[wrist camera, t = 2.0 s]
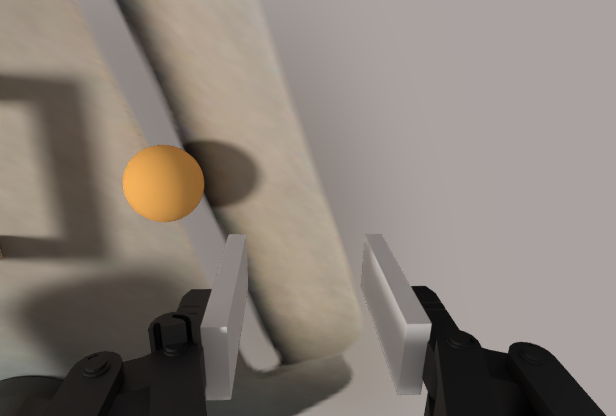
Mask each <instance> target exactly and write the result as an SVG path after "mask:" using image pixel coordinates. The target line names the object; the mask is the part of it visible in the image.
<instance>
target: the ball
mask: <svg viewBox="0 0 616 416" xmlns="http://www.w3.org/2000/svg"><path fill="white" fill-rule="evenodd" d="M123 190H124V194H125V197H126V199H127V201H128V202H129V204H130V205H131V207H132V208H133V209H134V210H135V211H136V212H137V213H139V214H140V215H142V216H143V217H145V218H148V219H150V220H154V221H158V222H170V221H175V220H178V219H181V218H183V217H185V216H187V215H188V214H190V213H191V212H192V211H193V210H194V209H195V208H196V207H197V205H198V204H199V202H200V200H201V198H202V195H203V192H204V177H203V173H202V170H201V168H200V166H199V165H198V163H197V162H196V160H195V159H194V158H193V157H192V156H191V155H189V154H188V153H187V152H185V151H184V150H182V149H180V148H177V147H174V146H169V145H157V146H152V147H149V148H146V149H144V150H142V151H140V152H139V153H137V154H136V155H135V156H134V157H133V158H132V159H131V160H130V162H129V163H128V165H127V167H126V169H125V172H124V175H123Z"/></svg>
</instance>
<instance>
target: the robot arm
mask: <svg viewBox="0 0 616 416" xmlns="http://www.w3.org/2000/svg"><path fill="white" fill-rule="evenodd" d="M361 289H362V292H363V295H364V298H365V301H366V304H367V307H368V310H369V313H370V316H371V318H372V321H373V324H374V327H375V330H376V333H377V336H378V339H379V342H380V345H381V348H382V351H383V353H384V356H385V359H386V362H387V365H388V368H389V371H390V374H391V377H392V380H393V383H394V386H395V388H396V391H397V394H398V395H414V394H421V389H422V383H423V381H424V384H425V386H426V388H427V390H428V394H427V401H426V407H425V413H424V416H606V415H605V414H604V413H603V411H602V410H601V409H600V408H599V407H598V406H597V404H596V403H595V402H594V401H593V400H592V399H591V398H590V396H589V395H588V394H587V393H586V392H585V391H584V390H583V388H582V387H581V386H580V385H579V384H578V383H577V381H576V380H575V379H574V378H573V377H572V376H571V375H570V373H569V372H568V371H567V370H566V369H565V368H564V367H563V365H562V364H561V363H560V362H559V361H558V360H557V359H556V357H555V356H554V355H552V354H551V353H550V352H549V351H548V350H546V349H544V348H542V347H540V346H538V345H535V344H532V343H527V342H517V343H513V344H512V345H510V347H509V351H508V353H503V352H498V351H493V350H488V349H485V348H482V347H481V345H480V343H479V341H478V340H477V339H476V338H474V337H473V336H472V335H470V334H468V333H466V332H464V331H461V330H459V328H458V327H457V326H456V324H455V322H454V321H453V319H452V318H451V316H450V315H449V313H448V312H447V310H445V307H444V305H443V304H442V303H441V301H440V299H439V298H438V296H437V295H436V293H434V292H433V291H432V290H430V289H429V288H428V287H426V286H410V284H409V282H408V281H407V279H406V277H405V275H404V273H403V272H402V270H401V268H400V266H399V265H398V263H397V261H396V259H395V258H394V256H393V254H392V252H391V250H390V249H389V247H388V245H387V243H386V241H385V240H384V238H383V236H382V234H365V238H364V251H363V263H362V277H361ZM247 291H248V276H247V245H246V234H229V236H228V239H227V242H226V245H225V249H224V252H223V255H222V259H221V262H220V265H219V268H218V272H217V275H216V278H215V282H214V285H213V288H212V289H191V290H190V291H189V292H188V293H187V294H186V295H184V296H183V297H182V300H181V302H180V304H179V308H178V309H177V312H171V313H167V314H164V315H161V316H160V317H158V318H156V319H155V320H154V321H153V322H152V323H150V326H149V328H148V332H149V339H150V346H151V354H149V355H147V356H144V357H141V358H138V359H134V360H130V361H126V362H123V361H122V359H121V357H120V355H118V354H116V353H115V352H107V351H105V352H98V353H94V354H92V355H89V356H86V357H85V358H83V359H82V360H80V361H78V362H77V363H76V364H75V365H74V367H73V368H72V369H71V370H70V372H69V373H68V375H67V377H66V378H65V380H64V381H59V380H55V379H50V378H42V377H18V378H11V379H7V380H3V381H0V416H207V412H206V404H205V396H204V393H205V390H206V400H231V396H232V389H233V382H234V376H235V369H236V363H237V356H238V350H239V343H240V336H241V330H242V323H243V316H244V309H245V304H246V297H247Z"/></svg>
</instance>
